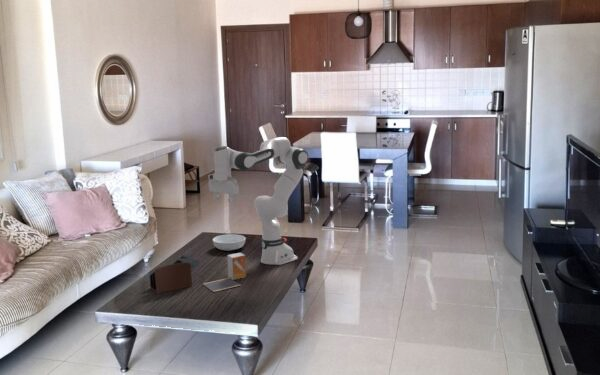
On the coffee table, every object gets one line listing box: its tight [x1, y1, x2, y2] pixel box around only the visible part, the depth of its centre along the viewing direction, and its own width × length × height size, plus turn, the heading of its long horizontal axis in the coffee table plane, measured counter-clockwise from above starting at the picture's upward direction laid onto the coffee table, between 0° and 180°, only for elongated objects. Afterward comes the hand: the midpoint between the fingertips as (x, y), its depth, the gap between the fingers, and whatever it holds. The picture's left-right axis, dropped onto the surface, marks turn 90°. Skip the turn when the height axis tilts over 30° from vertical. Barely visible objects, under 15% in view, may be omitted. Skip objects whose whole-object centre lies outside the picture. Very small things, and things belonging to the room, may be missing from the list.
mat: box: [202, 277, 242, 293], centre depth 313 cm, size 16×14×1 cm
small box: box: [226, 252, 247, 281], centre depth 323 cm, size 8×6×13 cm
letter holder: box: [149, 262, 193, 294], centre depth 311 cm, size 10×20×14 cm, turn 122°
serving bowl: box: [212, 233, 247, 252], centre depth 376 cm, size 21×21×7 cm
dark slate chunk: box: [172, 254, 201, 273], centre depth 344 cm, size 15×22×5 cm
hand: (224, 200), depth 324 cm, fingers open, 8 cm apart
